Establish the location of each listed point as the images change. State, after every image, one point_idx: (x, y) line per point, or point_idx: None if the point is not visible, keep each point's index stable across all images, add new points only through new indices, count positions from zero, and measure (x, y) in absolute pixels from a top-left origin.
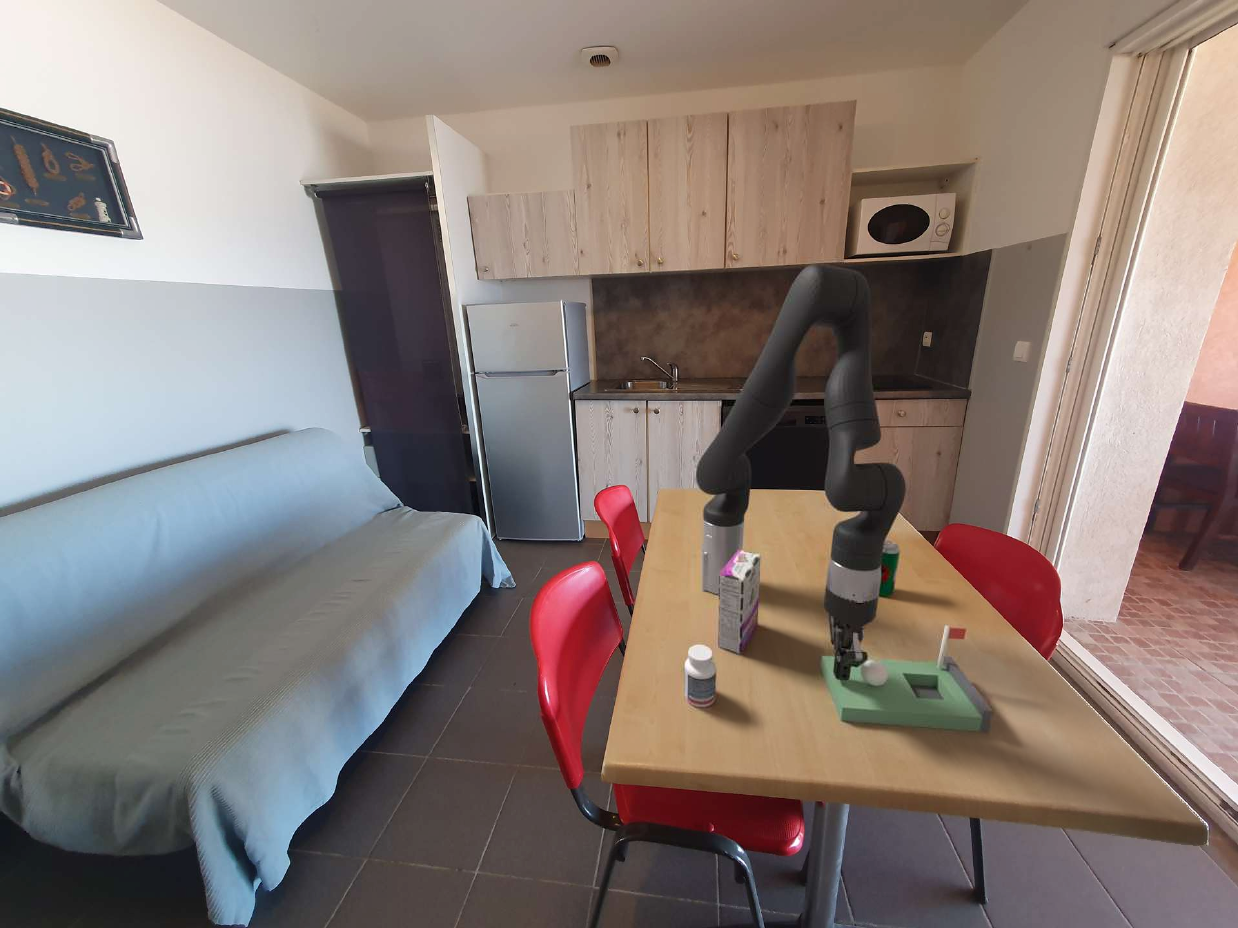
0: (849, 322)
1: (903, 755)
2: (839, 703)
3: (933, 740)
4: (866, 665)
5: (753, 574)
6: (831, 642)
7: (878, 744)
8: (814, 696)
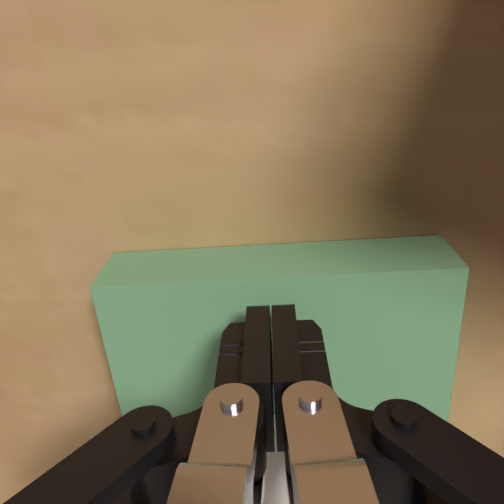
0: None
1: (23, 401)
2: (138, 275)
3: None
4: (281, 484)
5: None
6: (406, 403)
7: (40, 347)
8: (234, 169)
